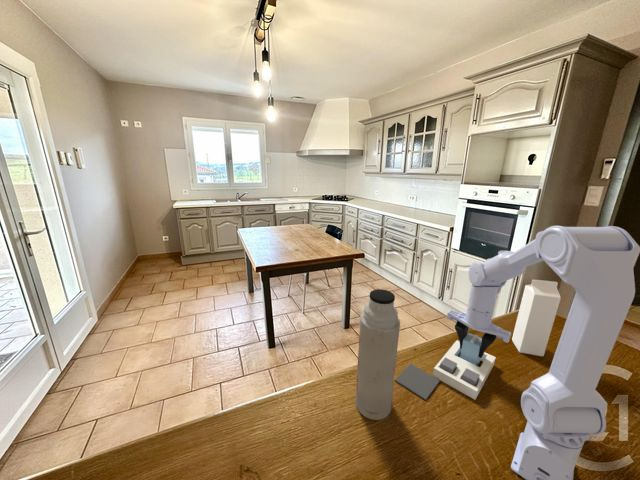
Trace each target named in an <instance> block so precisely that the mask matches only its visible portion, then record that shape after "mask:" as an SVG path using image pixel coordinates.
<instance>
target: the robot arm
mask: <svg viewBox="0 0 640 480" xmlns="http://www.w3.org/2000/svg"><path fill="white" fill-rule="evenodd" d="M639 256H640V245H639V244H638V243H637V242H636V241H635V239H634V238H633V237H632V235H631V234H630V233H629V232H628V231H627V230H625V229H624V228H621V227H619V226H614V225H606V226H564V225H562V226H561V225H551V226H549V227H546V228H545V229H544V230H541V231H538V232H537V233H536V235H535V239H533V240H531V241H530V242H528V243H526V244H525V245H524V246H522V247H520V248H519V249H517V250H516V251H511V250H499V251H498V252H497V255H495V256H493V257H490V258H487V259H486V261H484V262H482V263H481V262H476V261H475V262H474V261H473V262H472V264H470V266H469V268H468V278H469V279H468V280H469V281H470V283H471V284H470V285H471V286H470V290H469V291H470V292H469V297H468V300H467V301H468V302H467V307H466V312H465V313H464V312H458V311H454V310H451V309H449V311H447V314H446V319H447V320H449V321H451V320H453V321H455V325H454V329H455V331H456V334H457V337H458V341H459V342H460V349H462V344H463V339H464V338H465V337H466V335H467V334H468V333H469V332H468V331H469V328H470V329H471V330H474V331H477V332H481V333H484V334H483V335H482V337H481V339H482V343H481V349H480V352H479V357H480V358H482V356H483V355H484V352H485V353H486V350H487V349H488V348H489V347H490V346H491V345H492V344H493V343H494V342H495V340H496V339H497V338H498V339H501V340H502V342H504V343H506V344H508V343H509V341H510V339H511V336H512V332H510V331H508V330H505V329H504V328H502V327H499V326H498V325H496V324H494V323H492V321H493V320H492V319H493V314H494V309H495V306H496V301H497V296H498V294H499V293H501V291H502V288H503V287H504V286H505V285H506V283H507V282H508V281H509V280H512V279H515V278H517V277H519V276H521V275H523V274H524V273H525V272H526V268H527V267H530V266H533V265H536V264H539V263H541V262H544V263H545V264H546V265H548V267H550V268H551V270H552V271H554V273H555V274H556V275H557V276H559V278H560V279H561V280H562V281H563V282H564V283H565V284H567V285H569V286H572V288H573V289H574V290H575V294H574V297H573V300H572V303H571V307H570V309H569V312H568V315H567V317H566V320H565V323H564V326H563V329H562V332H561V336H560V338H559V341H558V344H557V346H556V350H555V352H554V355H553V358H552V362H551V365H550V367H549V370H548V372H547V373H545V374H542V376H539V377H538V378H536V379H533V380H532V381H531V382H530V385H529V387H528V388H527V389H526V390H524V391H523V392H522V394H521V398H520V407H521V410H522V413H523V416H524V417H525V419H526V420H527V422H526V425H525V429H524V431H523V432H520V434H519V437H518V442H517V445H516V448H515V451H514V455H513V457H512V458H513V459H512V461H511V464H510V469H511V470H512V471H513V472H514V473H516V474H517V475H519V476H521V477H522V478H523V479H525V480H574V474H575V467H576V464H577V461H578V459H579V457H580V454H581V451H582V450H583V448H584V447H583V446H584V443H585V442H586V441H589V440H590V438H591V435H601V434H603V433H605V431H606V428H607V421H606V409H607V407H608V403H607V401H606V400H605V399H604V397H603V396H602V395H601V393H599V392H598V391H597V390H596V388H597V387H598V385H599V381H600V379H601V378H602V377H601V376H602V375H603V372H604V370H605V367H606V365H607V364H608V363H607V362H608V360H609V359H610V356H611V353H612V351H613V349H614V345H615V344H616V341H617V339H618V337H619V335H620V332H621V329H622V328H623V324H624V322H625V320H626V318H627V315H628V313H629V311H630V308H631V306H632V303H633V301H634V298H635V294H636V282H635V274H634V267H635V266H636V263H637V260H638V258H639Z"/></svg>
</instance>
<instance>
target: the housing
mask: <svg viewBox="0 0 640 480" xmlns="http://www.w3.org/2000/svg"><path fill="white" fill-rule="evenodd" d="M460 354H461V349H460V342H459V339H457V340H455V341H454V343H453V344H452V345H451V347H450V348H449V349H448V350H447V351H446V353H444V356H443V357H442V358H441V359H440V360H439V362H437V364H435V366H434V367H433V370H432V371H433V372H432V376H433V377H435V378H437V379H439V380H440V382H442V383H444V384H446V385H448V386H449V387H451V388H453V389H455V390H457V391H458V392H460V393H462V394H464V395H465V396H468V397H469V398H471V399H473V400H474V401H475V400H476V399H477V397H478V396H479V394H480V392H481V390H482V388H483V386H484V384H485V382H486V381H487V379H488V377H489V375H490V373H491V371H492V369H493V367H494V366H495V362H496V358H497V357H496V356H494V355H492V354H489V353H487V352H486V351H485V352H484V355H483V356H482V358H480V362H482V364H481V365H480V366H479V365H478V366H476V365H474V364H472V363H470V362H468V361H466V360H464V359H462V358H460ZM444 358H447V359H449V360H451V361H453V362H455V363H457V367H456V371H455V372H454V374H451V373H449V372H447V371H445V370H443V369H441V368H440V364H441V362H442V361H443V360H444ZM466 368H467V369H469V370H471V371H473V372H475V373H477V374H479V375H480V376H479V380H478V384H477V386H476V387H475V386H473V385H471V384H469V383H467V382H466V381H464V380H462V379H461V378H462V374H463V373H464V371H465V369H466Z"/></svg>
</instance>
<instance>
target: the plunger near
mask: <svg viewBox="0 0 640 480" xmlns="http://www.w3.org/2000/svg"><path fill="white" fill-rule="evenodd" d="M479 376H480V375H479V374H477V373H475V372H473V371H471V370H469V369H467V368H466V369H465V371H464V373H463V374H462V378H461V379H462V380H464V381H466V382H467V383H469V384H471V385H473V386H475V387H476V386H477V384H478V380H479Z"/></svg>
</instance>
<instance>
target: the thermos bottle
mask: <svg viewBox="0 0 640 480" xmlns="http://www.w3.org/2000/svg"><path fill="white" fill-rule="evenodd" d="M395 300H396V295H395V294H394V293H393V292H391V290H387V289H379V288H378V289H373V290H372V291H370V292H369V298H368V302H367V303H366V304H365V305H364V309H363V311H362V313H360V316H359V318H360V319H359V333H358V336H359V337H358V349H357V351H358V352H357V368H356V369H357V370H356V372H357V373H356V389H355V390H356V391H355V406H356V409H357V410H358V412H360V415H362V416H364V417H366V418H367V419H370V420H374V421H379V420H383V419H385V418H387V417H388V416H389V415H390V413H391V411H392V404H393V403H392V402H393V393H394V381H395V373H396V365H397V358H398V357H397V356H398V355H397V354H398V345H399V337H400V329H401V328H400V327H401V321H400V318H399V315H398V314H399V313H398V309H397V308H396V306H394V304H395Z"/></svg>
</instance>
